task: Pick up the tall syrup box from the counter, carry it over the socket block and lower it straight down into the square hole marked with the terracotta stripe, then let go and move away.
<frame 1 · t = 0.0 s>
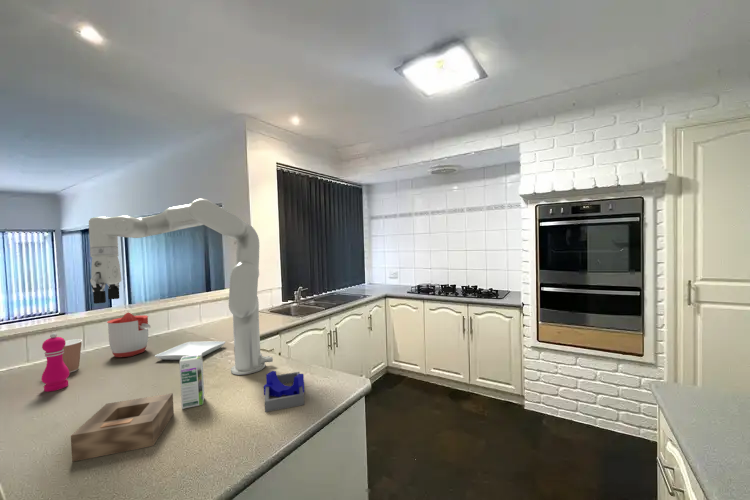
hand: (107, 300, 112), 31 cm above the worktop, tool pointing down, fingers open, 9 cm apart
citrus juicer: (131, 354, 153), on the worktop
coffee cup: (67, 371, 133), on the worktop
salad plate: (192, 355, 148), on the worktop
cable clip: (284, 394, 102), resting in clip frame
clip frame: (284, 394, 102), on the worktop
syrup box: (193, 404, 99), on the worktop
socket block: (129, 434, 83), on the worktop
pepper mill: (56, 388, 116), on the worktop
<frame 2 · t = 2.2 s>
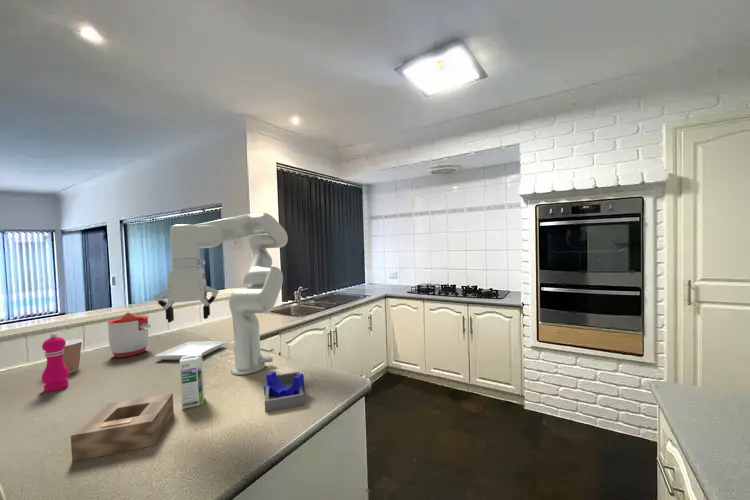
hand: (188, 319, 98), 26 cm above the worktop, tool pointing down, fingers open, 9 cm apart
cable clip: (284, 394, 102), resting in clip frame
everything else where it was.
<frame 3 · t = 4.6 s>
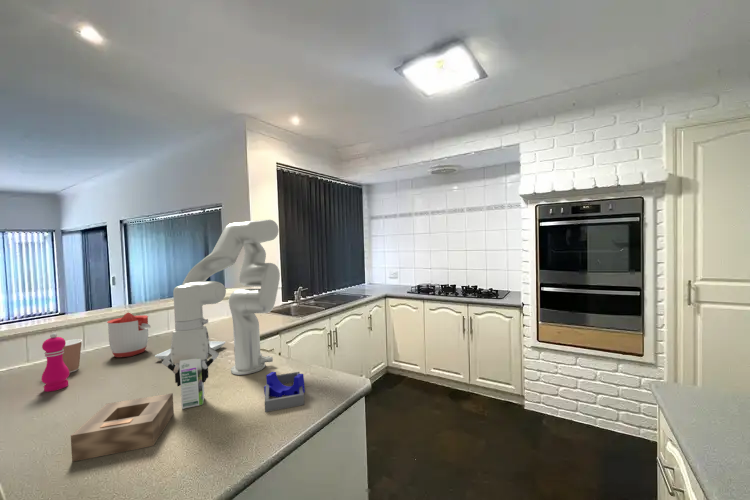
hand: (192, 382, 98), 7 cm above the worktop, tool pointing down, fingers closed on syrup box, 6 cm apart
syrup box: (193, 403, 99), on the worktop, touching gripper
everything else where it was.
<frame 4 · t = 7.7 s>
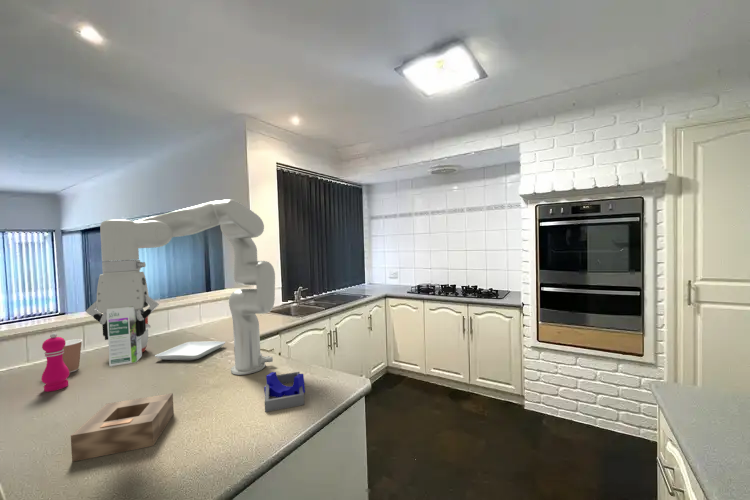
hand: (125, 336, 83), 26 cm above the worktop, tool pointing down, fingers closed on syrup box, 6 cm apart
syrup box: (126, 362, 83), point 19 cm above the worktop, touching gripper
everything else where it was.
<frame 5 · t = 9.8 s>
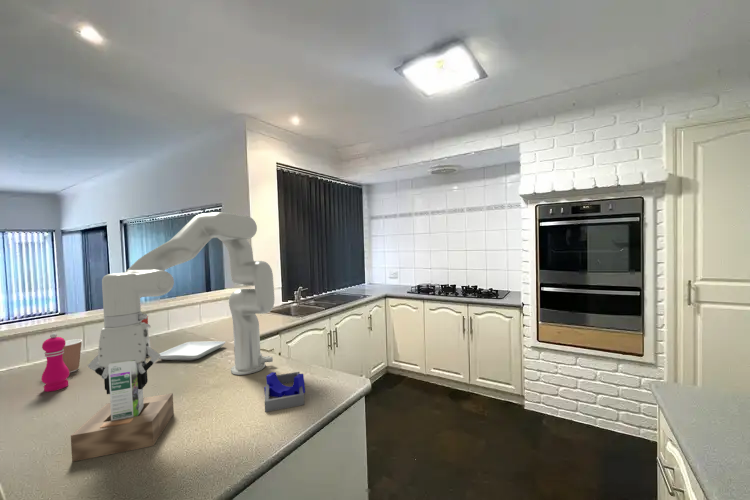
hand: (126, 388, 83), 12 cm above the worktop, tool pointing down, fingers closed on syrup box, 6 cm apart
syrup box: (128, 415, 83), point 5 cm above the worktop, touching gripper
everything else where it was.
when the fingers open (8 cm above the worktop, at t = 11.3 s): syrup box drops 1 cm, resting in socket block.
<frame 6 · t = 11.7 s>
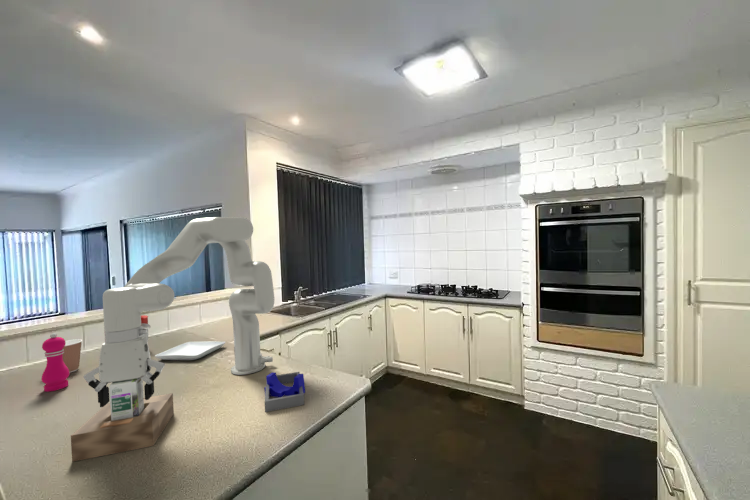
hand: (127, 401, 82), 9 cm above the worktop, tool pointing down, fingers open, 9 cm apart
syrup box: (129, 435, 83), resting in socket block
everything else where it was.
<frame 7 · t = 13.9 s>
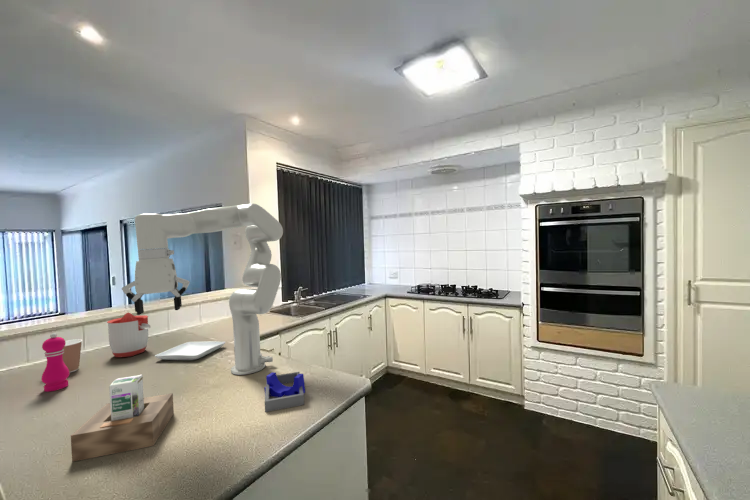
hand: (159, 311, 96), 29 cm above the worktop, tool pointing down, fingers open, 9 cm apart
nothing on the worktop moved.
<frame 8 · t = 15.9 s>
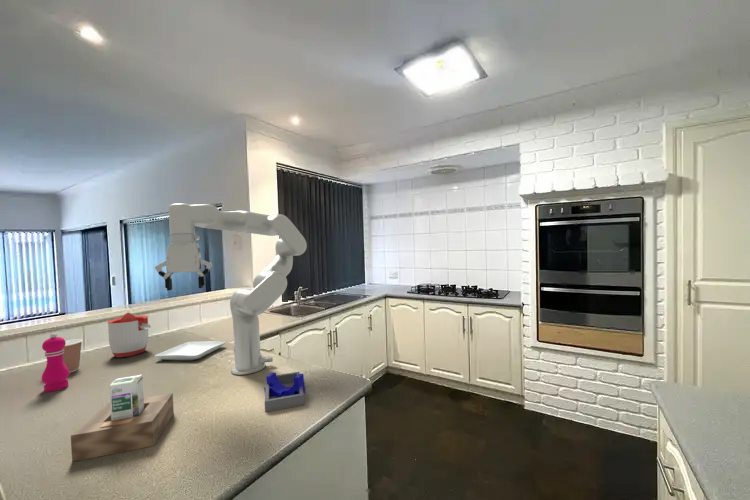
hand: (185, 288, 110), 34 cm above the worktop, tool pointing down, fingers open, 9 cm apart
nothing on the worktop moved.
at the end: syrup box 0.2 cm off-centre on the socket block, point 0.0 cm above the socket block's base; syrup box tilted 0°; the gripper is holding nothing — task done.
